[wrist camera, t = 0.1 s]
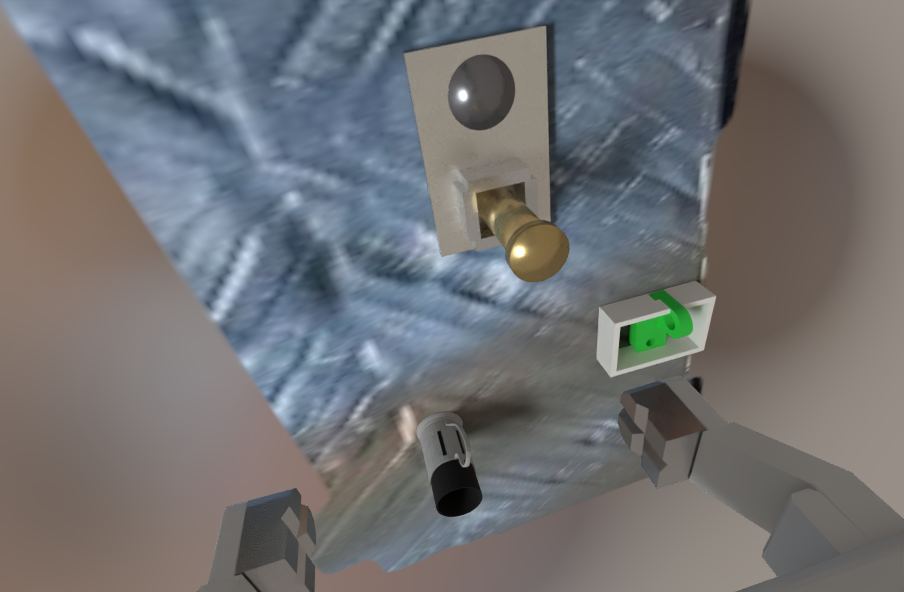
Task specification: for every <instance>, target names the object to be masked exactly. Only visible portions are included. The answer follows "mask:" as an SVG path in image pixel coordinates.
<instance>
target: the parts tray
mask: <svg viewBox="0 0 904 592" xmlns="http://www.w3.org/2000/svg"><path fill="white" fill-rule="evenodd" d="M663 290H665V291H666V292H667V293H668V294H669V295H671V296H672V297H673V298H674V299H675V300H676V301H678V302H679V303H680V304H681V305H682V306H684V307H685V308H686V310H687V311H688V312H689V314H690V316H691V319H692V322H693V331H692V333H691V334H690V335H687V336H684V337H681V338H678V339H674V338H672V337H670V336H669V335H666V343H665V345H663V346H659V347H656V348H652V349H649V350H645V351H642V352H637V351H636V349H635V348H634V347H633V346H632V345H630V346H626V347H622V348H619V336H620V327H623V326H626V325H630V324H633V323H637V322H641V321H644V320H648V319H651V318H655V317H659V316H662V315H666V314H669V313H670V308H669V307H668V306H667V305H666V304H665V303H663V302H662V301H661V300H660V299H659V300H656V301H655V300H654V299H653V298H651V297H650V296H649V295H648V294H651V293H648V294H644V295H641V296H637V297H633V298H630V299H626V300H622V301H619V302H615V303H611V304H608V305H604V306H600V307H599V323H598V342H597V360H598V361H599V363H600V364H601V365H602V366H603V368H604V369H605V370H606V372H607V373H608V374H609V376H610V377H613V376H617V375H620V374H624V373H627V372H630V371H634V370H637V369H641V368H644V367H648V366H651V365H655V364H658V363H661V362H665V361H668V360H672V359H675V358H679V357H682V356H685V355H689V354H692V353H696V352H699V351H702V350H704V347H705V342H706V338H707V334H708V329H709V325H710V321H711V316H712V312H713V308H714V303H715V299H716V295H714V294H713V293H712V292H710V291H709V290H708V289H706V288H705V287H704V286H702V285H701V284H700V283H698V282H697V281H692V282H689V283H685V284H681V285H678V286H674V287H670V288H667V289H663ZM659 291H660V290H659ZM656 292H657V291H656ZM652 293H654V292H652ZM618 348H619V349H618Z"/></svg>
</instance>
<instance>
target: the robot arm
mask: <svg viewBox="0 0 904 592" xmlns="http://www.w3.org/2000/svg"><path fill="white" fill-rule="evenodd" d="M620 403H621V405H622V406H623V409H622V410H621V412H620V413H619V414H618V425H619V429H620V433H621V435H622V437H623V439H624V441H625V443H626V444H627V446H628V447H629V449H630V450H631V451H633V452H635V453H637V454H639V455H640V456H641V467H642V468H643V470H644V471H645V472H646V474H647V475H648V477H649V478H650V480H651V481H652V482H653V484H654V485H655V487H656V488H660V487H664V486H667V485H671V484H674V483H678V482H681V481H685V480H688V479H690V480H689V481H690V482H692V483H693V484H694V485H696V486H697V487H699V488H701V489H702V490H704V491H705V492H707V493H708V494H710V495H712V496H713V497H715V498H716V499H718V500H719V501H721V502H722V503H724V504H726V505H727V506H729V507H730V508H732V509H733V510H735V511H736V512H738V513H740V514H741V515H743V516H744V517H746V518H747V519H749V520H750V521H752V522H754V523H755V524H757V525H758V526H760V527H761V528H763V529H764V530H766V531H768V532H769V533H771V535H770V537H769V539H768V541H767V543H766V545H765V547H764V549H763V554H762V557H763V559H764V560H765V561H766V562H767V564H768V565H769V566H770V568H771V569H772V570H773V572H775V574H776V575H777V577H776V578H773V579H770V580H767V581H764V582H761V583H759V584H756V585H753V586H750V587H747V588H745V589H742V590H739V591H736V592H904V519H903V518H902V517H901V516H900V515H899V514H898V513H897V512H895V511H894V510H893V509H892V508H891V507H890V506H889V505H887V504H886V503H885V502H884V501H883V500H882V499H881V498H880V497H879V496H877V495H876V494H875V493H874V492H873V491H872V490H871V489H870V488H868V487H867V486H866V485H865V484H864V483H863V482H862V481H861V480H859V479H858V478H857V477H856V476H855V475H854V474H853V473H852V472H849V471H847V470H845V469H842V468H840V467H838V466H835V465H833V464H831V463H828V462H826V461H824V460H821V459H819V458H817V457H814V456H812V455H809V454H807V453H805V452H803V451H800V450H798V449H795V448H793V447H791V446H789V445H786V444H784V443H782V442H779V441H777V440H775V439H772V438H770V437H768V436H765V435H763V434H760V433H758V432H756V431H753V430H751V429H749V428H747V427H744V426H742V425H739V424H737V423H734V422H733V423H729V424H728V423H727V422H726V421H725V420H724V419H723V417H721V415H720V414H718V412H717V411H716V410H715V409H714V408H713V407H712V406H711V405H710V404H709V403H708V402H707V401H706V400H705V399H704V398H703V397H702V396H701V395H700V394H699V393H698V392H697V391H696V390H695V389H694V388H693V387H692V386H691V385H690V384H689V383H688V382H687V380H686V379H685V378H683V377H681V376H675V377H671V378H668V379H665V380H662V381H656V382H653V383H650V384H647V385H643V386H640V387H637V388H634V389H630V390H627V391H624V392H623V393H622V394H621V395H620ZM315 547H316V532H315V524H314V519H313V516H312V513H311V511H310V509H309V508H308V506H305V505H302V504H301V495H300V493H299V492H298V490H297V489H296V488H294V489H290V490H287V491H283V492H280V493H276V494H272V495H268V496H264V497H261V498H257V499H253V500H250V501H246V502H242V503H239V504H235V505H232V506H228V507H227V508H226V510H225V512H224V514H223V516H222V520H221V525H220V530H219V534H218V539H217V544H216V549H215V553H214V558H213V562H212V567H211V572H210V577H209V582H208V584H207V585H204V586H201V587H200V588H199V590H198V591H197V592H314V590H315V566H314V564H313V563H312V561H311V560H310V558H309V557H310V556H311V554H312V552H313V551H314V549H315Z"/></svg>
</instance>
